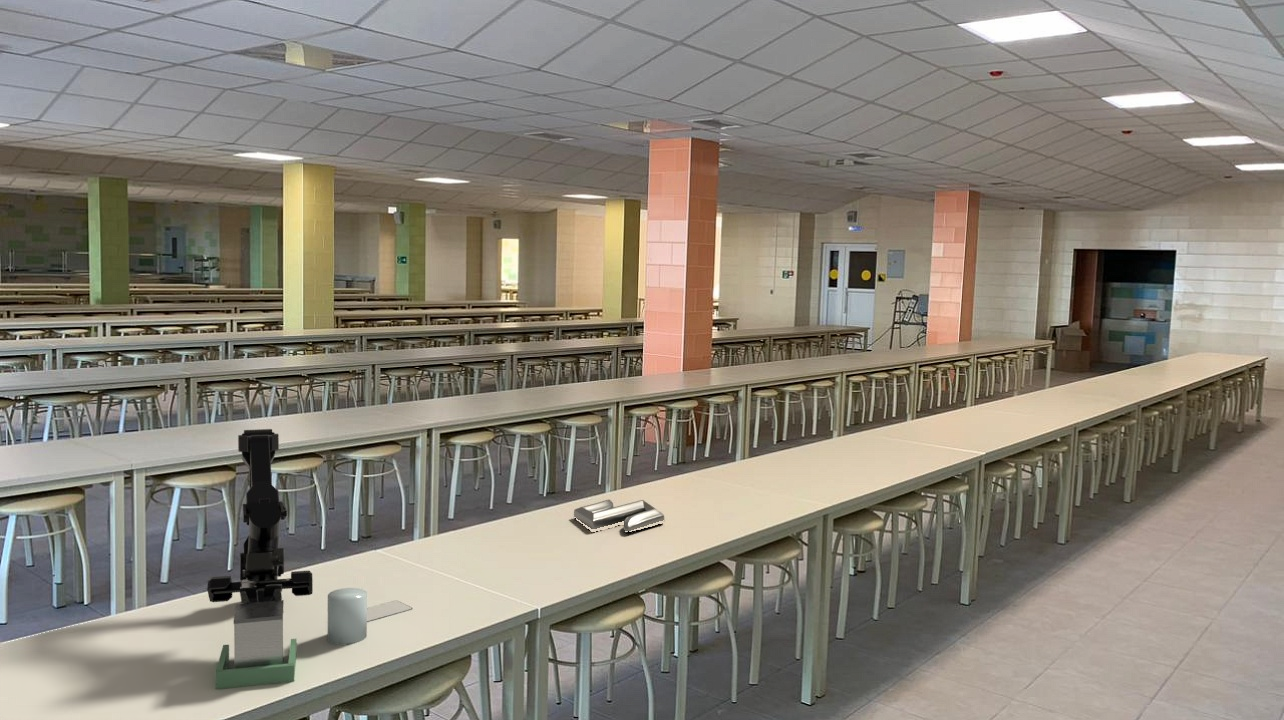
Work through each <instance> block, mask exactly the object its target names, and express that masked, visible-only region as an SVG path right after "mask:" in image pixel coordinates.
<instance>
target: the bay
mask: <svg viewBox="0 0 1284 720" xmlns="http://www.w3.org/2000/svg"><path fill="white" fill-rule="evenodd" d="M289 644H290V646H289V654H288V663H283V664H279V665H269V666H258V667H248V668H238V669H235V668H229V669H228V666H229V662H230V644H223V646H222V648H221V652H220V656H219V660H218V663H217V666H216V669H215V675H214V676H215V690H221V689H230V688H231V689H232V688H243V687H251V686H259V685H260V686H261V685H270V684H279V683H280V684H282V683H291V682H294V681H295V674H296V673H295V672H296V665H297V638H291V639H290V643H289Z"/></svg>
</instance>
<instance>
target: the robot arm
mask: <svg viewBox="0 0 1284 720" xmlns="http://www.w3.org/2000/svg"><path fill="white" fill-rule="evenodd" d="M279 444H280V443H279V433H275V432H274V431H273V429H272V428H265V429H264V428H263V429H244V430H243V433H241V434H238V435H237V445H238V446H237V448H238V449H237V450H238V452H240V453H241V460H242V461H243V463H244V464H245V465H246V467H247V469H248V471H249V473H248V477H249V479H248V481H249V489H248V490H247V491H246V493H245V494H246V495H245V498H246V499H245V503H242V522H243V523H245V524H246V526H248V536H247V538H246V539H245V541H244V543H243V546H242V549H243V552H240V553H239V580H240V581H234V582H233V581H232V575H225V576H223V575H222V576H211V577H210V579H209V580H207V589H206V590H207V591H206V592H207V595H208V598H209V599H208V600H209V602H211V603H220V602H229V601H230V600H231V599H232V598H233V593H239V595H240V600H241V601H240V602H241V604H244V603H255V602H267V601H279V600H283V597H282V596H283V595H282V592H283V590H286V589H287V590H288V589H289V590H291V594H292V595H294V596H295V597H303V596H311V595H313V585H314V584H313V581H314V579H313V573H312V572H311V571H310V570H300V571H299V570H298V571H297V570H295V571H291V572H290V578H278V577H282V575H284V573H285V571H284V570H285V563H286V562H285V558H286V556H285V555H286V553H285V552H286V551H285V547H281V548H280V532H281V522H282V520H285V517H287V516H288V511H287V510H288V509H287V507H286V506H285V504H284V503H283V501H282V500H280V496H279V495H280V493H279V490H278V489H277V488H276V487H275V486H274V485H273V481H272V480H273V479H272V465H271V464H272V462H273V461H274V459H275V455H276V451H279Z"/></svg>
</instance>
